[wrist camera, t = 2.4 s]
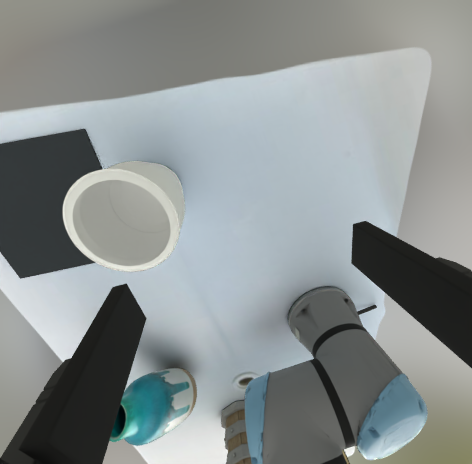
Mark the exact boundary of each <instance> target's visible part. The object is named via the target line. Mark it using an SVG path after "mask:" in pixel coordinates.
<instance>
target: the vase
mask: <svg viewBox="0 0 472 464" xmlns="http://www.w3.org/2000/svg"><path fill="white" fill-rule="evenodd" d="M196 397H197V387H196V383H195V380H194V378H193V376H192V375H191V374H190V373H189V372H188V371H186V370H184V369H181V368H170V369H164V370H160V371H156V372H153V373H150V374H147V375H144V376H142V377H140V378H138V379H136V380H135V381H133V382H132V383H131V384H130V385H129V386H128V388H127V389H126V390H125V392H124V394H123V397H122V400H121V404H120V407H119V410H118V414H117V417H116V420H115V423H114V427H113V430H112V433H111V437H110V440H109V441H112V442H116V441H119V440H121V439H125V440H126V441H127V442H128V443H129V444H132V445H136V446H138V445H144V444H147V443H150V442H152V441H154V440H156V439H158V438H160V437H162V436H163V435H165V434H167V433H168V432H170V431H171V430H173V429H174V428H176V427H177V426H178V425H179V424H181V423H182V422H183V421H184V420H185V419H186V418H187V417H188V416H189V415H190V413H191V412H192V410H193V408H194V405H195V402H196Z"/></svg>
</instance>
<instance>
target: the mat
mask: <svg viewBox="0 0 472 464" xmlns="http://www.w3.org/2000/svg"><path fill="white" fill-rule="evenodd" d="M97 170H102V168H101V165H100V163H99V161H98V158H97V156H96V154H95V151H94V149H93V147H92V144H91V142H90V139H89V137H88V135H87V132H86V130H85V129H81V130H76V131H70V132H65V133H59V134H54V135H48V136H42V137H37V138H31V139H26V140H20V141H15V142H9V143H3V144H0V252H1V253H2V255H3V256H4V257H5V259H6V260H7V261H8V263H9V264H10V265H11V267H12V268H13V269H14V271H15V272H16V273H17V275H18V276H19V277H20V279H21V278H25V277H30V276H35V275H39V274H44V273H49V272H53V271H58V270H63V269H67V268H72V267H77V266H81V265H86V264H91V263H95V262H94V261H92V260H91V259H89V258H88V257H87V256H85V255H84V254H83V253H82V252H81V251H80V250H79V249H78V248H77V247H76V246H75V244H74V243H73V242H72V240H71V238H70V237H69V235H68V233H67V231H66V228H65V225H64V221H63V204H64V200H65V197H66V194H67V192H68V191H69V189H70V188H71V186H72V185H73V184H74V183H75V182H76V181H77V180H78V179H80V178H81V177H83V176H84V175H86V174H88V173H91V172H94V171H97Z"/></svg>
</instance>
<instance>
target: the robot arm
mask: <svg viewBox="0 0 472 464" xmlns="http://www.w3.org/2000/svg"><path fill="white" fill-rule="evenodd" d="M352 264H353V265H354V266H355V267H356V268H358V269H359V270H360V271H361V272H362V273H363V274H364V275H366V276H367V277H368V278H369V279H370V280H371V281H372V282H374V283H375V284H376V285H377V286H378V287H379V288H380V289H382V290H383V291H384V292H385V293H386V294H387V295H388V296H390V297H391V298H392V299H393V300H394V301H396V302H397V303H398V304H399V305H400V306H401V307H402V308H403V309H405V310H406V311H407V312H408V313H409V314H410V315H411V316H413V317H414V318H415V319H416V320H417V321H418V322H420V323H421V324H422V325H423V326H424V327H425V328H426V329H427V330H429V331H430V332H431V333H432V334H433V335H434V336H436V337H437V338H438V339H439V340H440V341H441V342H442V343H443V344H445V345H446V346H447V347H448V348H449V349H450V350H452V351H453V352H454V353H455V354H456V355H457V356H458V357H459V358H461V359H462V360H463V361H464V362H465V363H466V364H468V365H469V366H470V367H471V368H472V271H471V270H470V269H468V268H466V267H464V266H462V265H460V264H458V263H456V262H453V261H449V260H446V259H443V258H434V257H432V256H430V255H428V254H426V253H424V252H422V251H421V250H419V249H417V248H415V247H413V246H411V245H410V244H408V243H406V242H404V241H402V240H400V239H398V238H397V237H395V236H393V235H391V234H389V233H387V232H385V231H384V230H382V229H380V228H378V227H376V226H374V225H372V224H371V223H369V222H367V221H363V222H360V223H356V224H353V238H352ZM375 308H377V306H376V305H373V306H371V307H368V308H366V309H363V310H360V311H358V312H357V311H356V308H355V306H354V303H353V302H352V300H351V299H350V297H349V296H348V295H347V294H346V293H345V292H344V291H342V290H341V289H338V288H335V287H321V288H317V289H314V290H311V291H309V292H307V293H306V294H304V295H302V296H301V297H300V298H299V299H298V300H297V301H296V302H295V303H294V304H293V306H292V307H291V309H290V311H289V314H288V324H289V326H290V328H291V331H292V332H293V334H294V335H295V337H296V338H297V339H298V340H299V342H301V343H302V344H303V345H304V346H305V347H306V348H307V349H308V350H309V351H310V352H311V354H312V355H313V357H314V359H313V360H310V361H306V362H303V363H300V364H297V365H294V366H291V367H288V368H285V369H282V370H279V371H275V372H272V373H271V372H268V373H267V374H266V375H263V376H261V377H258V378H256V379H253V380H252V381H250V382H249V384H248V386H247V388H246V392H245V421H246V432H247V441H248V448H249V453H250V456H251V463H252V464H347V462H346V460H345V457H344V455H343V452H342V450H344V449H346V448H349V447H352V446H357V449H358V451H359V452H360V453H361V454H362V455H363V456H364V457H365V458H366V459H368V460H374V459H381V458H384V457H387V456H389V455H391V454H392V453H394V452H396V451H398V450H399V449H401V448H402V447H404V446H405V445H406V444H408V443H409V442H410V441H411V440H412V439H413V438H414V437H415V436H416V435H417V434H418V433H419V432H420V430H421V429H422V428H423V426H424V424H425V422H426V420H427V414H428V412H427V407H426V404H425V402H424V400H423V399H422V397H421V396H420V395H419V393H418V392H417V391H416V389H415V388H414V387H413V385H412V384H411V383H410V381H409V380H408V378H407V376H406V375H405V374H403V373H402V371H401V370H400V369H399V368H398V367H397V366H396V364H394V362H393V361H392V360H391V359H390V357H389V356H388V355H387V354H386V353H385V352H384V350H383V349H382V348H381V347H380V346H379V345H378V343H377V342H376V341H375V340H374V339H373V338H372V336H371V335H370V334H369V333H368V332H367V331H366V329H365V328H364V327H363V325H362V323H361V320H360V318H359V315H360V314H362V313H365V312H368V311H370V310H372V309H375ZM145 321H146V317H145V315H144V313H143V312H142V310H141V308H140V306H139V305H138V303H137V301H136V299H135V298H134V296H133V294H132V292H131V291H130V289H129V287H128V285H127V284H123V285H119V286H116V287H113V288H112V289H111V291H110V293H109V295H108V296H107V298H106V300H105V301H104V303H103V305H102V307H101V308H100V310H99V312H98V313H97V315H96V317H95V319H94V320H93V322H92V324H91V325H90V327H89V329H88V331H87V332H86V334H85V336H84V337H83V339H82V341H81V343H80V344H79V346H78V348H77V349H76V351H75V353H74V355H73V356H72V358H71V359H67V360H65V361H64V362H63V363H62V365H61V366H60V367H59V368H58V369H57V370H56V371H55V372H54V373H53V375H52V376H51V378H50V379H49V381H48V383H47V384H46V386H45V387H44V391H43V392H41V394H40V396H39V397H38V399H37V400H36V404H35V405H33V407H32V408H31V410H30V411H29V413H28V415H27V416H26V418H25V419H24V421H23V423H22V424H21V426H20V427H19V429H18V431H17V432H16V434H15V436H14V437H13V439H12V440H11V442H10V444H9V445H8V447H7V449H6V450H5V452H4V453H3V455H2V457H1V458H0V464H102V463H103V459H104V456H105V453H106V450H107V446H108V443H109V440H110V437H111V433H112V430H113V427H114V423H115V420H116V417H117V414H118V410H119V407H120V404H121V400H122V397H123V394H124V390H125V387H126V384H127V381H128V377H129V374H130V371H131V367H132V364H133V361H134V358H135V354H136V351H137V348H138V344H139V341H140V338H141V335H142V331H143V328H144V325H145Z"/></svg>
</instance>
